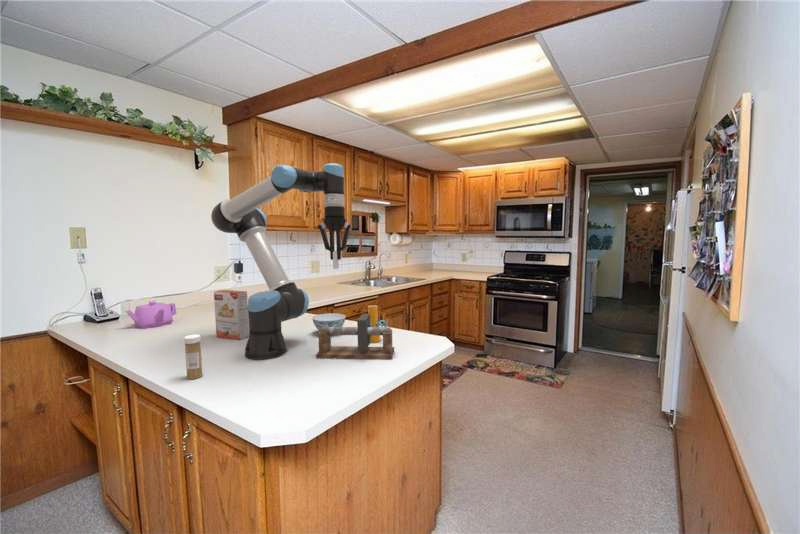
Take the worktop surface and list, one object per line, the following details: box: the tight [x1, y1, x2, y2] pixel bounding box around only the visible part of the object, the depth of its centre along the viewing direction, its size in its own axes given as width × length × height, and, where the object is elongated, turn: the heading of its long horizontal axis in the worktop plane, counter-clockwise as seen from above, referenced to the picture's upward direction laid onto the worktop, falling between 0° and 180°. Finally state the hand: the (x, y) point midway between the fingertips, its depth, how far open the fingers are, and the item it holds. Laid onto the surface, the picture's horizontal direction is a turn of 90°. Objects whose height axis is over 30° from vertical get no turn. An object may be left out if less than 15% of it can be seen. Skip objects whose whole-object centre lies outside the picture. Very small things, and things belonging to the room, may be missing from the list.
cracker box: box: [213, 289, 249, 341], centre depth 161 cm, size 14×6×21 cm, turn 68°
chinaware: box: [312, 313, 347, 332], centre depth 166 cm, size 15×15×8 cm
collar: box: [356, 313, 371, 350], centre depth 136 cm, size 3×11×11 cm, turn 176°
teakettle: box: [125, 300, 177, 330], centre depth 185 cm, size 17×17×12 cm
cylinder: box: [367, 304, 388, 343], centre depth 154 cm, size 12×10×15 cm
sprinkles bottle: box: [183, 334, 203, 380], centre depth 115 cm, size 5×5×14 cm
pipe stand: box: [315, 326, 395, 360], centre depth 136 cm, size 28×10×11 cm, turn 86°
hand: (336, 268), depth 138 cm, fingers closed
